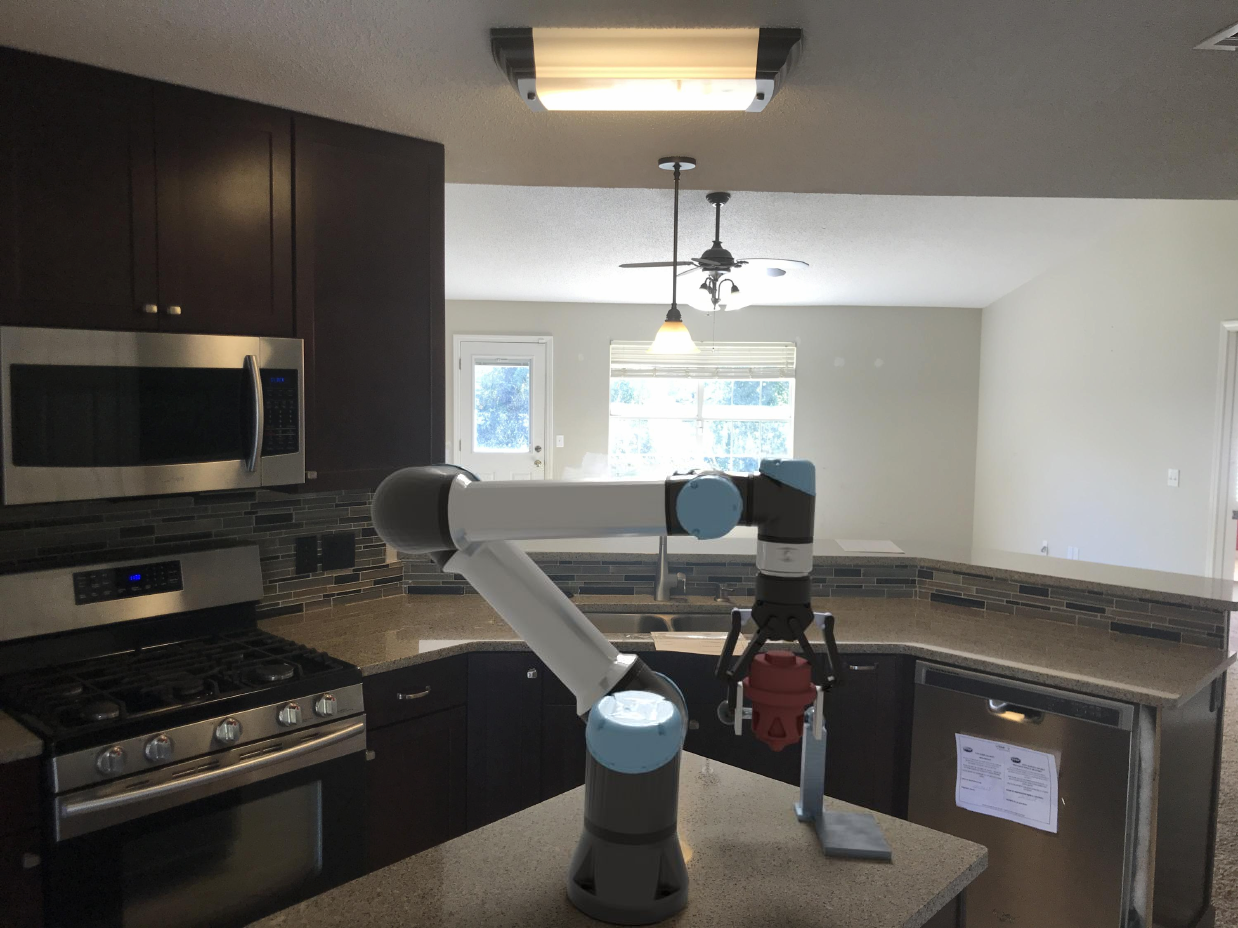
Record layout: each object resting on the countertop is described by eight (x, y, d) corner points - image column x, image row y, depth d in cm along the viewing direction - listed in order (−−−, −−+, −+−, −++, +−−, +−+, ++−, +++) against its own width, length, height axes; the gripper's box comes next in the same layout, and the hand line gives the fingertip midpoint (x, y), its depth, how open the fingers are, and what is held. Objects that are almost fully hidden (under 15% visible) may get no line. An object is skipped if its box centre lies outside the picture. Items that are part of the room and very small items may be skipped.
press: (808, 853, 116) (813, 757, 116) (793, 807, 131) (798, 721, 130) (891, 860, 115) (896, 763, 115) (867, 812, 130) (871, 726, 130)
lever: (717, 726, 127) (718, 703, 127) (716, 718, 131) (717, 696, 131) (824, 733, 126) (826, 710, 126) (820, 725, 130) (821, 702, 130)
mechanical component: (813, 734, 119) (814, 760, 109) (742, 726, 121) (737, 751, 111) (817, 647, 119) (819, 666, 109) (745, 641, 121) (741, 659, 111)
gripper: (700, 572, 111) (694, 738, 112) (874, 580, 110) (867, 748, 110) (699, 563, 119) (694, 719, 120) (862, 571, 117) (855, 729, 118)
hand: (777, 733), depth 115 cm, fingers closed on mechanical component, 10 cm apart
